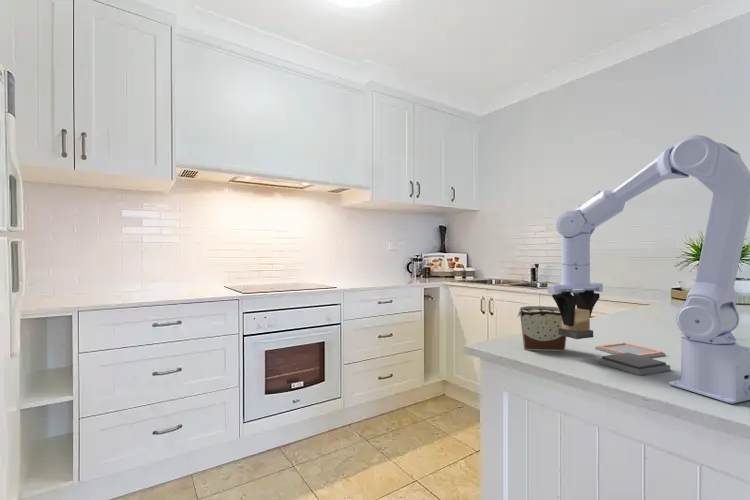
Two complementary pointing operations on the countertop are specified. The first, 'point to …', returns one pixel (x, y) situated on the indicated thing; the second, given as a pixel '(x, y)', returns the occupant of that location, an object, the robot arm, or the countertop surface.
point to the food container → (541, 328)
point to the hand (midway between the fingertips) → (575, 324)
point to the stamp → (578, 326)
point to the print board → (630, 350)
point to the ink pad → (634, 363)
